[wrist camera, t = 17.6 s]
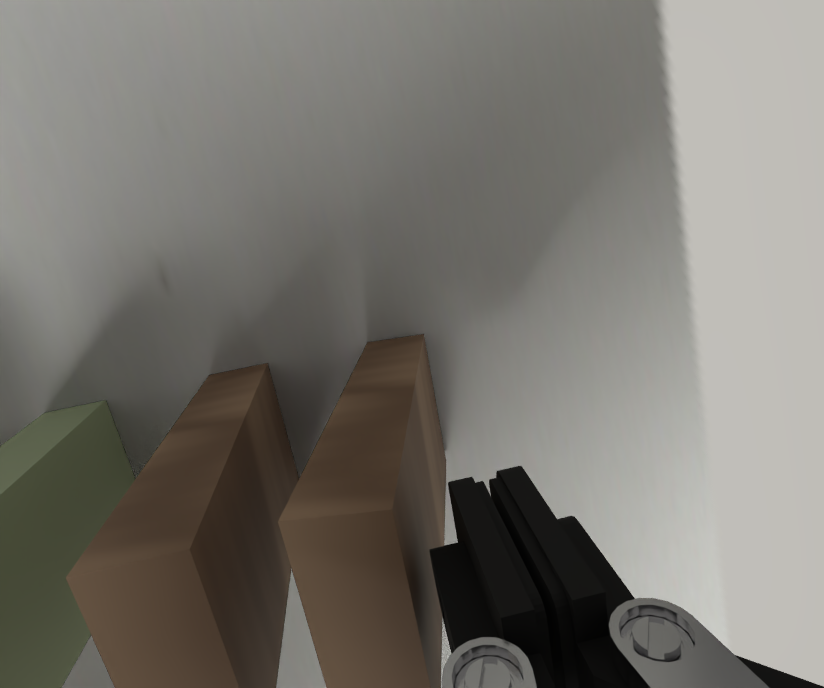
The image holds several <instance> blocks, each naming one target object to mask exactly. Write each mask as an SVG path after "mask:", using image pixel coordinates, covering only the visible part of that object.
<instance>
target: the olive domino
mask: <svg viewBox="0 0 824 688" xmlns="http://www.w3.org/2000/svg"><path fill="white" fill-rule="evenodd" d="M134 481H135V477H134V474H133V471H132V469H131V466H130V463H129V461H128V458H127V455H126V453H125V450H124V447H123V445H122V442H121V439H120V437H119V434H118V431H117V429H116V426H115V423H114V421H113V418H112V415H111V413H110V410H109V407H108V405H107V402H106V400H104V401H99V402H95V403H90V404H85V405H80V406H75V407H70V408H65V409H61V410H56V411H51V412H46V413H44V414H42V415H41V416H40V417H39V418H37V419H36V420H35V421H33V422H32V423H31V424H29V425H28V426H27V427H25V428H24V429H23V430H21V431H20V432H19V433H17V434H16V435H15V436H13V437H12V438H11V439H9V440H8V441H7V442H5V443H4V444H3V445H1V446H0V688H61V687H62V686H63V684H64V682H65V680H66V679H67V677H68V675H69V673H70V671H71V670H72V668H73V666H74V664H75V662H76V661H77V659H78V657H79V655H80V653H81V652H82V650H83V648H84V646H85V645H86V643H87V641H88V639H89V637H90V636H91V633H90V631H89V629H88V627H87V624H86V622H85V620H84V618H83V615H82V613H81V611H80V609H79V607H78V604H77V602H76V600H75V598H74V595H73V593H72V591H71V589H70V587H69V584H68V582H67V580H66V577H67V575H68V574H69V572H70V571H71V569H72V568H73V567H74V565H75V564H76V562H77V561H78V560H79V558H80V557H81V555H82V554H83V553H84V551H85V550H86V548H87V547H88V545H89V544H90V543H91V541H92V540H93V538H94V537H95V536H96V534H97V533H98V531H99V530H100V529H101V527H102V526H103V524H104V523H105V521H106V520H107V519H108V517H109V516H110V514H111V513H112V512H113V510H114V509H115V507H116V506H117V505H118V503H119V502H120V500H121V499H122V497H123V496H124V495H125V493H126V492H127V490H128V489H129V488H130V486H131V485H132V483H133V482H134Z"/></svg>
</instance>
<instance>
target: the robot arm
mask: <svg viewBox="0 0 824 688" xmlns="http://www.w3.org/2000/svg"><path fill="white" fill-rule="evenodd" d="M496 477H497V478H494V479H490V480H489V485H490V493H491V496H490V494H489V492H488V490H487V488H486V486H485V484H484V482H483V481H481V482H476V483H475V481H474V479H473V478H472V477H469V478H464V479H460V480H455V481H451V482H448V486H449V493H450V499H451V504H452V510H453V516H454V522H455V528H456V533H457V539H458V543H454V544H450V545H446V546H441V547H437V548H433V549H429V552H430V558H431V563H432V569H433V574H434V579H435V584H436V589H437V594H438V598H439V603H440V607H441V612H442V616H443V620H444V624H445V629H446V633H447V637H448V641H449V645H450V649H451V653H452V654H451V655H450V656H449V658H448V660H447V662H446V664H445V666H444V670H443V677H442V688H824V687H823V686H820V685H817V684H814V683H812V682H809V681H806V680H803V679H801V678H798V677H795V676H792V675H789V674H787V673H784V672H781V671H778V670H775V669H772V668H770V667H767V666H764V665H761V664H759V663H756V662H753V661H750V660H747V659H744V658H742V657H739V656H736V655H734V654H733V653H732V652H731V651H730V650H729V649H728V648H726V647H725V646H724V645H723V644H722V643H721V642H720V641H719V640H718V639H717V638H716V637H715V636H714V635H713V634H711V633H710V632H709V631H708V630H707V629H706V628H705V627H704V626H703V625H702V624H701V623H700V622H699V621H698V620H696V619H695V618H694V617H693V616H692V615H691V614H689V613H688V612H687V611H685V610H684V609H682V608H681V607H679V606H677V605H674V604H672V603H670V602H668V601H664V600H659V599H655V598H637V599H635V598H634V597H633V595H632V594H631V593H630V591H629V590H628V589H627V587H626V586H625V585H624V583H623V582H622V580H621V579H620V578H619V576H618V575H617V574H616V572H615V571H614V569H613V568H612V567H611V565H610V564H609V563H608V561H607V560H606V558H605V557H604V556H603V554H602V553H601V552H600V550H599V549H598V547H597V546H596V545H595V543H594V542H593V541H592V539H591V538H590V536H589V535H588V534H587V532H586V531H585V530H584V528H583V527H582V526H581V524H580V523H579V521H578V520H577V519H576V518H575V517H573V516H569V517H565V518H561V519H557V518H556V517H555V515H554V514H553V512H552V511H551V509H550V508H549V507H548V505H547V504H546V502H545V501H544V499H543V498H542V496H541V495H540V493H539V492H538V490H537V489H536V487H535V486H534V484H533V483H532V481H531V480H530V478H529V477H528V475H527V474H526V472H525V471H524V469H523V468H522V467H521V466H517V467H513V468H509V469H504V470H500V471H497V473H496Z"/></svg>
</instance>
